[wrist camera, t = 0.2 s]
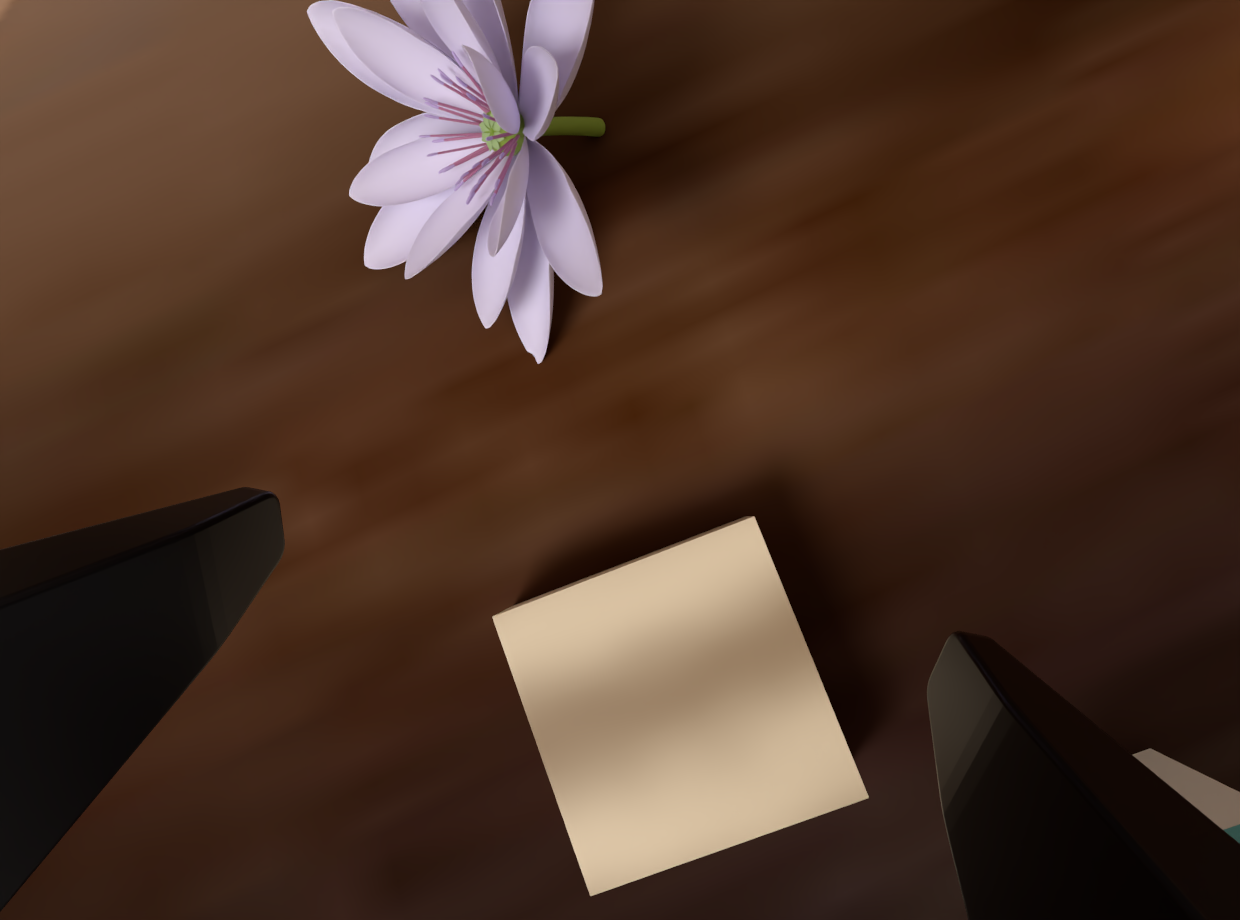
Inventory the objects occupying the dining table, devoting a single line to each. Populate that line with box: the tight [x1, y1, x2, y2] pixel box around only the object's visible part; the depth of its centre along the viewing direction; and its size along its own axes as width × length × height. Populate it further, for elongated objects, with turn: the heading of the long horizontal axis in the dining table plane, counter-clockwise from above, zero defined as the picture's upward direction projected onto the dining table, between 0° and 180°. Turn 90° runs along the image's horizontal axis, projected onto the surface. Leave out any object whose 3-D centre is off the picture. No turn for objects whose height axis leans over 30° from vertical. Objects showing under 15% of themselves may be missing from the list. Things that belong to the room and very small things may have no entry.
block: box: [492, 516, 869, 896], centre depth 22 cm, size 9×9×3 cm
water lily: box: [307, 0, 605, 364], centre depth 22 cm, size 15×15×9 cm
